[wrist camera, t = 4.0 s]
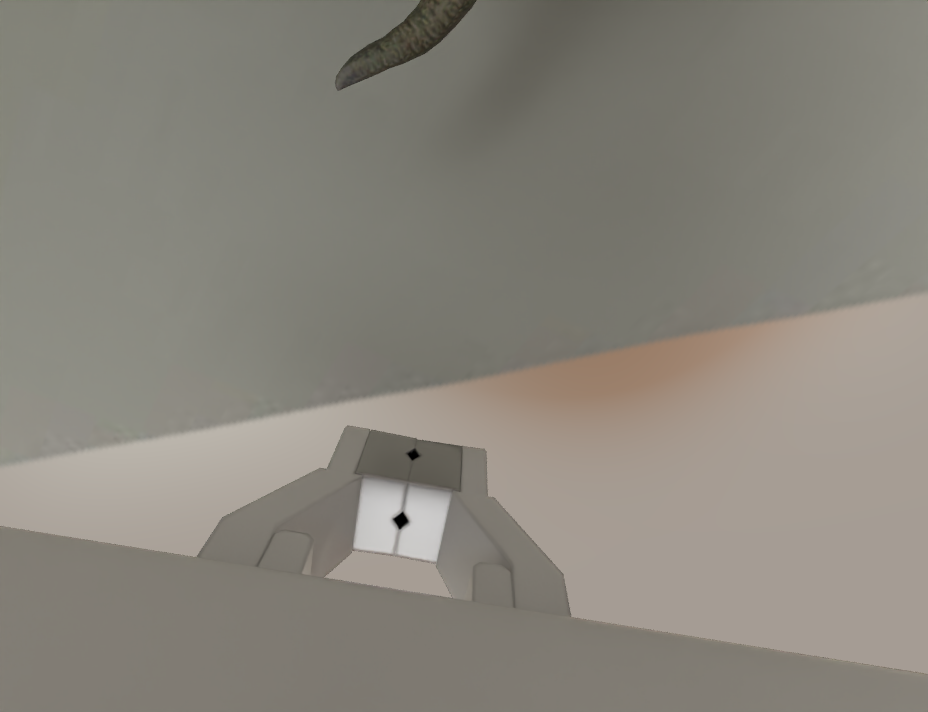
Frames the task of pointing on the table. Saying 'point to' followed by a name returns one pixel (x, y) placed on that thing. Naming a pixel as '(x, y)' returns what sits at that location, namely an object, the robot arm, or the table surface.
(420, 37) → the toy dinosaur
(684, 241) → the table surface
